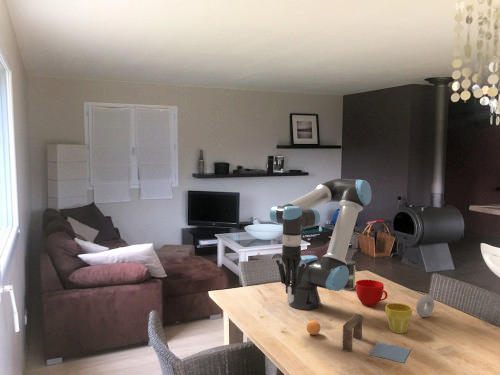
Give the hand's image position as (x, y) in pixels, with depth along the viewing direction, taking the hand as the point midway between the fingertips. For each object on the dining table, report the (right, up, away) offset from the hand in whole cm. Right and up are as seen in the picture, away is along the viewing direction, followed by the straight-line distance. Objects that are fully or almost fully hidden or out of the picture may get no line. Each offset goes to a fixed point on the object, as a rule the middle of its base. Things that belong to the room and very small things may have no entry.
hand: (290, 301), depth 179 cm
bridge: (+23, -13, -12) cm, 29 cm away
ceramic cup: (+42, -10, +30) cm, 52 cm away
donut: (+61, -11, +15) cm, 64 cm away
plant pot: (+44, -12, +1) cm, 46 cm away
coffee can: (+35, -7, +57) cm, 67 cm away
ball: (+9, -9, -4) cm, 13 cm away
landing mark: (+35, -13, -19) cm, 42 cm away
